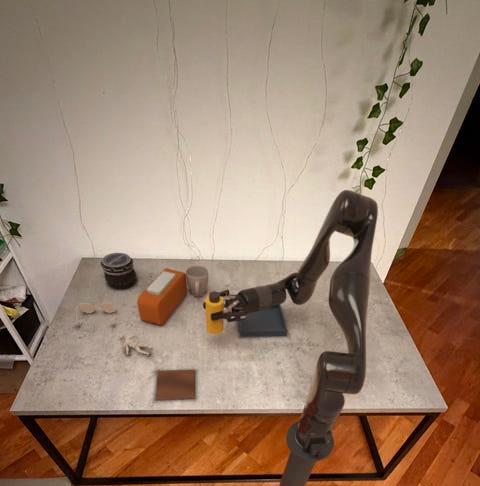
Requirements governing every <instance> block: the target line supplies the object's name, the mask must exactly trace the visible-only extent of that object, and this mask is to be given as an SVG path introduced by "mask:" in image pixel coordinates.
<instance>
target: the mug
mask: <svg viewBox="0 0 480 486" xmlns="http://www.w3.org/2000/svg"><path fill="white" fill-rule="evenodd" d="M185 274H186V281H187V287H188V288H189V290H190V292H191V294H192V296H193V297H202V296H204V295H205V293H206V290H207V288H208V285H209V270H208V269H207V268H206V266H202V265H191V266H189V267H188V268H187V269H186V271H185Z"/></svg>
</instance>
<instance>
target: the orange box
mask: <svg viewBox="0 0 480 486" xmlns="http://www.w3.org/2000/svg"><path fill="white" fill-rule="evenodd" d="M187 294H188V283H187V278H186V272H184V271H179V270H176V269H172V268H167V267H166V268H164V269H163V270H162V271H161V272H160V273H159V274H158V275H157V276H156V277H155V278H154V280H152V282H151V283H150V284H149V285H148V286H147V287H146V288H145V289H144V290H143V291H142V292H141V294H139V295H138V297H137V300H136V303H137V304H136V305H137V309H138V313H139V317H140V320H141V321H143V322H147V323H151V324H154V325H157V326H163V325H164V324H165V323H166V322H167V321H168V320H169V318H170V317H171V315H172V314H173V313H174V311H175V310H176V309H177V308H178V306H179V305H180V304H181V302H182V301H183V300H184V299H185V297H186V296H187Z"/></svg>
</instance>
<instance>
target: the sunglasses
mask: <svg viewBox="0 0 480 486" xmlns="http://www.w3.org/2000/svg"><path fill="white" fill-rule="evenodd" d="M98 307H99V310H100V312H106V313H109V314H110V313H113V315H115V312H116V305H115V304H113V303H112V302H101V303H100V304H98ZM78 308H79V309H80V311H82V312H84V313H86V314H92V313H94V312H95V311H96V306H95V305H94V304H92V303H88V302H80V303H79V305H77V306H76V310H78ZM77 316H78V315H76V317H75V323H76V325H77V327H79V325H78V324H79V323H78V320H77V319H78V317H77ZM114 322H115V318H113V319H112V323H113V327H114V325H115V324H114Z"/></svg>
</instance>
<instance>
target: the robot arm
mask: <svg viewBox="0 0 480 486" xmlns="http://www.w3.org/2000/svg"><path fill="white" fill-rule="evenodd" d="M378 215H379V206H378V203H377V201H376V200H375V199H374V198H371V197H369V196H367V195H364V194H361V193H358V192H356V191H353V190H350V189H344V190H341V192H339V193H338V195H337V196H336V197H335V199H334V200H333V202H332V204H331V206H330V207H329V210H328V212H327V213H326V215H325V217H324V220H323V222H322V224H321V226H320V229H319V231H318V234H317V235H316V238H315V240H314V243H313V244H312V247H311V248H310V251H308V254H307V256H305V258H304V260H303V261H302V263H301V265H300V266H299V269H298V270H297V271H296V272H292V273H290V274H288V275H287V276H286V277H284V278H282V279H280V280H279V281H277V282H273V283H269V284H266V285H259V286H253V287H249V288H246V289H245V288H244V289H241V290H240V291H238V293H237V294H231V293H230V290H229V289H225V290H223V291H220V292H219V291H218V293H219V294H220V296H221V297H222V298H223V300H224V311H223V312H222V311H220V312H216V313H212V314H211V320H212V321H216V320H220V319H224V320H226V322H227V323H235V322H239V321H242V320H245V319H246V314H249V313H253V312H257V311H260V310H264V309H266V308H269V307H272V306H276V305H282V304H284V303H285V302H286V300H287V293H288V295H289V298H290V300H291V302H292V303H293V304H294V305H296V306H302V305H305V304H306V303H308V302H309V301H310V299H311V298H312V296H313V294H314V293H315V290H316V288H317V287H316V286H317V283H318V281H319V279H320V278H321V277H322V275H323V274H324V273H325V272H326V270H327V269H328V267H329V264H330V260H331V245H330V244H331V237H332V235H333V234H334V233H335V232H336V233H339V234H341V235H344V236H347V237H350V238H352V239H353V246H352V249H351V251H350V252H349V254H348V255H347V256H346V257H345V258H344V259H343V260H342V261H341V262H340V263H339V264H338V266H337V267H336V268H335V269H334V270H333V272H332V275H331V277H330V280H329V290H328V306H329V309H330V311H331V314H332V315H333V317H334V319H335V321H336V322H337V324H338V326H339V328H340V329H341V331H342V333H343V335H344V338H345V341H346V345H347V346H346V347H347V352H341V351H335V350H324V351H322V352H321V353H320V355H319V356H318V358H317V361H316V365H315V369H314V373H313V377H312V381H311V384H310V387H309V390H308V395H307V398H306V401H305V404H304V405H303V406H304V407H303V410H302V412H301V415H300V418H299V420H298V421H299V425H298V428H297V430H296V433H295V441H296V443H297V445H298V446H299V447H300V448H301V449H302V450H303V452H304V453H309V452H310V454H311V455H316V457H317V458H318V459H320V457H321V455H325V454H326V452H327V450H328V448H327V444H328V442H329V440H330V438H331V436H332V435H333V432H332V431H333V429H334V427H335V425H336V423H337V422H338V419H339V417H340V415H341V413H342V411H343V409H344V407H345V403H346V399H345V398H346V397H345V395H344V394H347V395H357V394H359V393H360V392H361V391H362V390H363V388H364V385H365V381H366V374H367V317H368V306H369V298H370V285H371V284H370V282H371V263H372V261H371V260H372V253H373V247H374V240H375V235H376V228H377V222H378ZM202 308H203V309H204V310H206V305H205V301H203V302H202Z"/></svg>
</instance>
